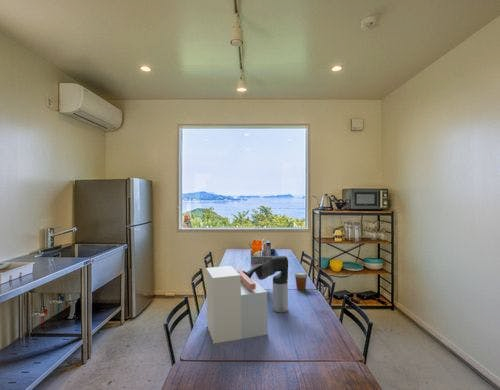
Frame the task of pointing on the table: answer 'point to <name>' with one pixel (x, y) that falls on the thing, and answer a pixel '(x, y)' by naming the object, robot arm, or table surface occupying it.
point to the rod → (247, 280)
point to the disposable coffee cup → (301, 280)
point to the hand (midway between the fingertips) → (241, 272)
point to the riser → (234, 306)
